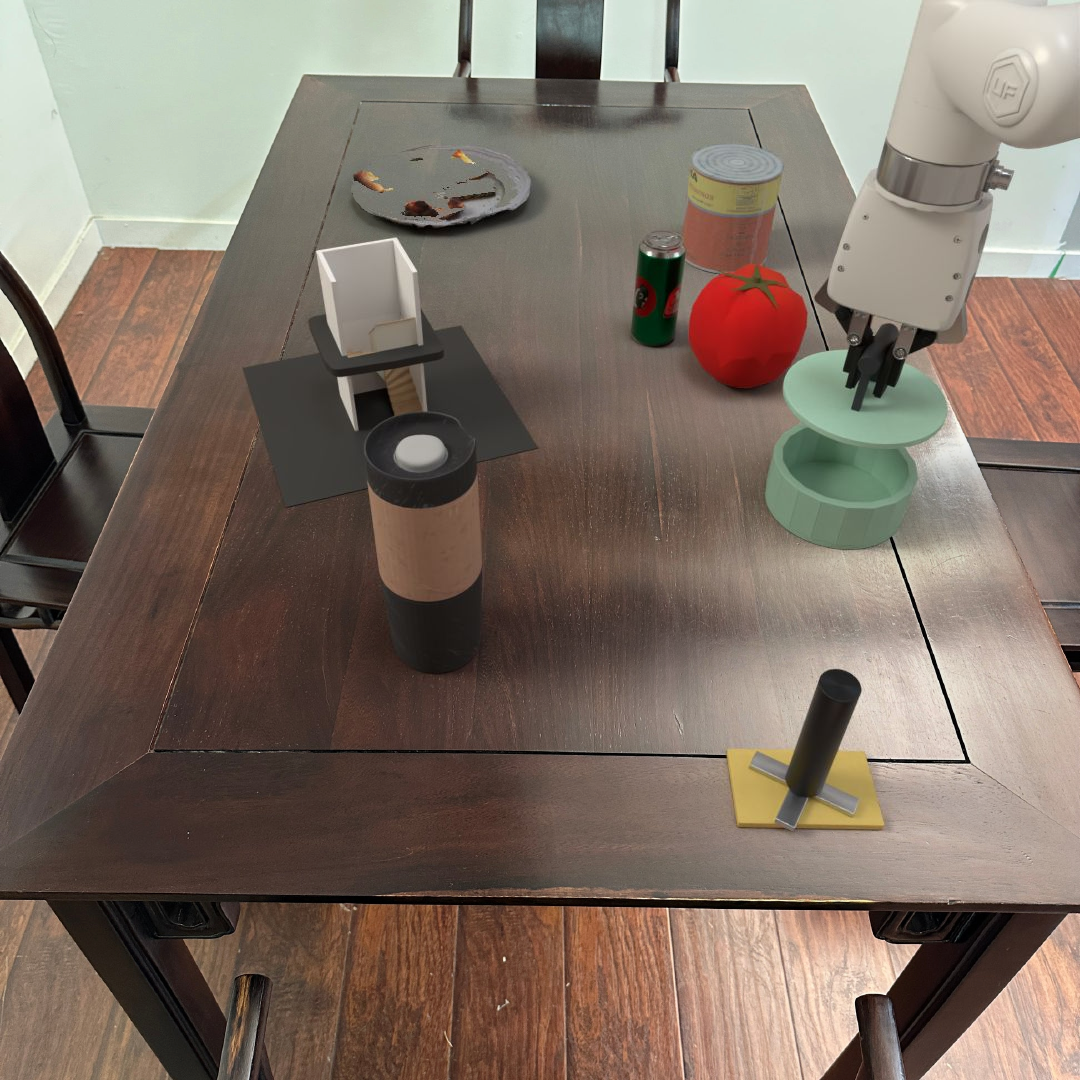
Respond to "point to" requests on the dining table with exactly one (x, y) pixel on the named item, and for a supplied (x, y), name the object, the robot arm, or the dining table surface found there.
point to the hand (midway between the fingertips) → (867, 383)
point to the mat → (765, 796)
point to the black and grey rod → (816, 750)
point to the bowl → (838, 489)
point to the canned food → (730, 206)
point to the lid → (865, 399)
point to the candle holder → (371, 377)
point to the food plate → (474, 203)
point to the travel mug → (427, 537)
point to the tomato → (747, 326)
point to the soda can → (658, 287)
